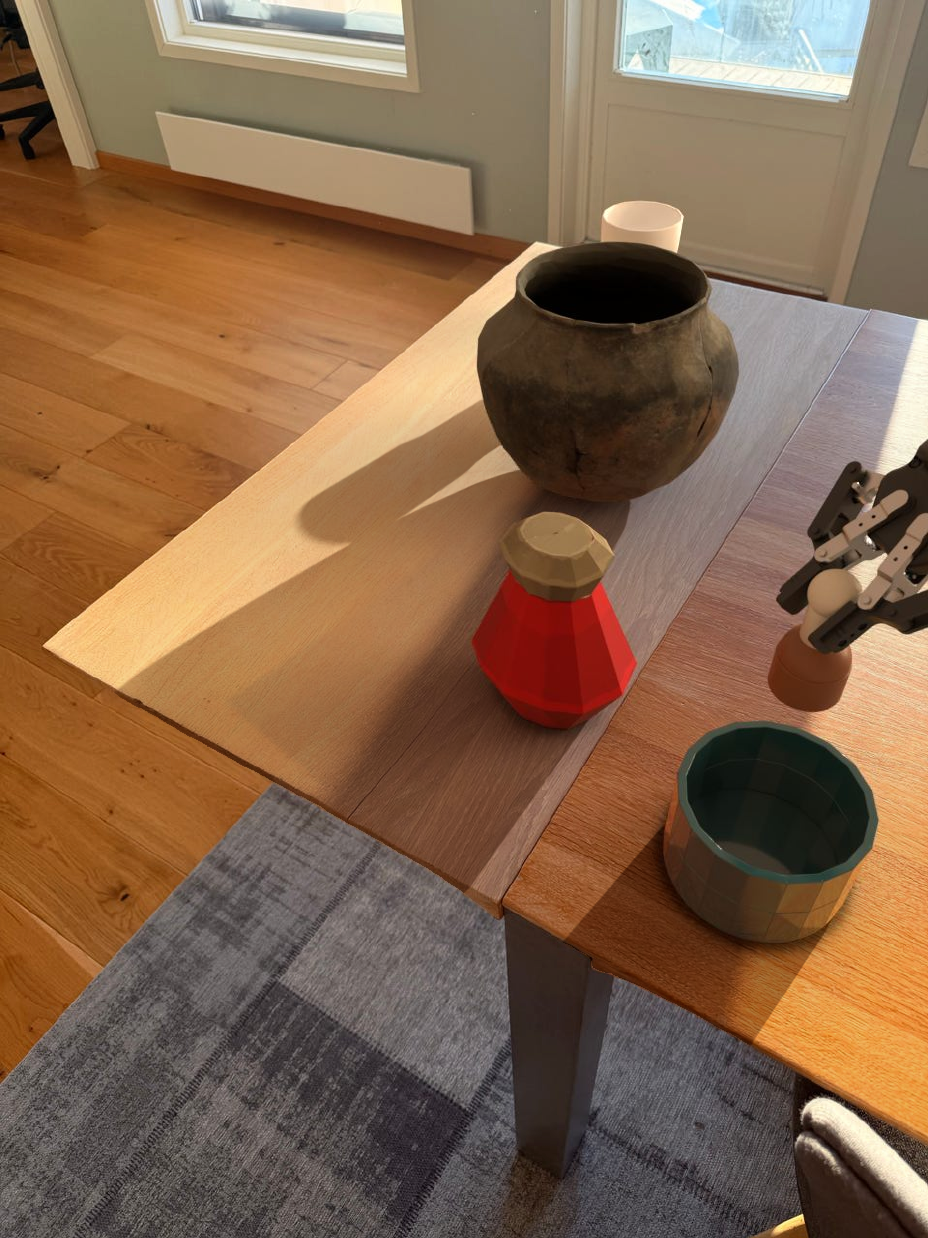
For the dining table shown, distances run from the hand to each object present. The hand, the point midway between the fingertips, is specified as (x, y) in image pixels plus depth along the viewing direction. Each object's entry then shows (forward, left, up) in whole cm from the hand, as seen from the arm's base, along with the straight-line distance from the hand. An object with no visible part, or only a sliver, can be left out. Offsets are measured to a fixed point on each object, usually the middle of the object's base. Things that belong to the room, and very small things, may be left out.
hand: (800, 626), depth 61 cm
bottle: (+20, -5, -23) cm, 31 cm away
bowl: (-2, +4, -23) cm, 23 cm away
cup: (+39, -78, -23) cm, 90 cm away
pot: (+29, -40, -23) cm, 55 cm away
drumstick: (-1, -1, -7) cm, 7 cm away
